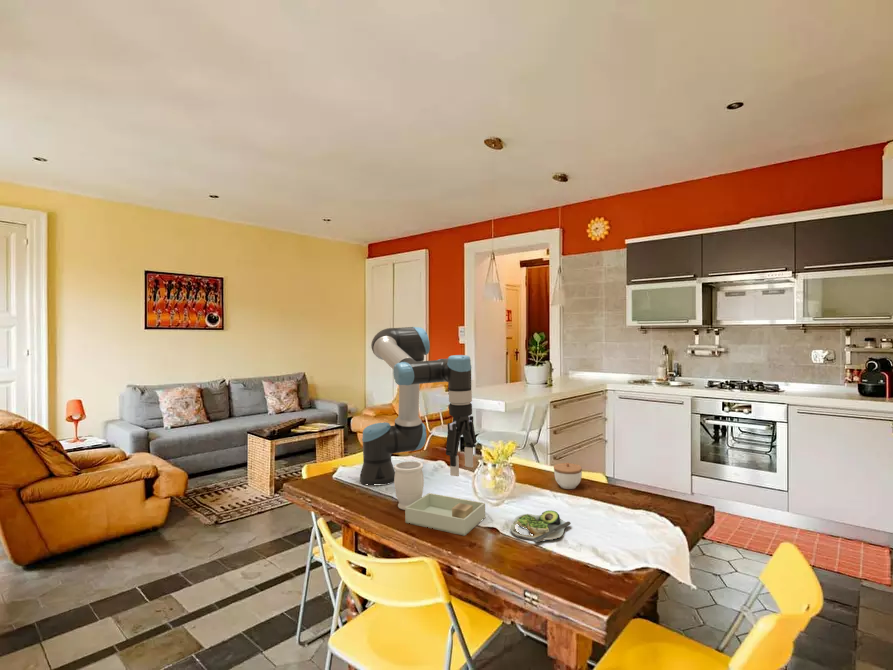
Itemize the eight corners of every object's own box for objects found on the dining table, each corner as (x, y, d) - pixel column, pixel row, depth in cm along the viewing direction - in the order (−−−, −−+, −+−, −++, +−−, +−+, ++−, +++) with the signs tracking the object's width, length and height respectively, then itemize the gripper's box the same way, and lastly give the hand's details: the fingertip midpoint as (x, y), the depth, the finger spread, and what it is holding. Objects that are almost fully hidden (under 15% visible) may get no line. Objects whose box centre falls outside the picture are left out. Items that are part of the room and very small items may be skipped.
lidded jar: (585, 484, 195) (585, 461, 194) (577, 493, 186) (576, 468, 185) (559, 480, 201) (559, 457, 200) (550, 488, 192) (549, 464, 191)
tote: (429, 506, 176) (428, 492, 176) (485, 517, 165) (485, 503, 165) (405, 522, 163) (405, 507, 163) (464, 535, 152) (464, 519, 152)
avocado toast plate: (563, 551, 141) (563, 535, 141) (503, 542, 148) (502, 527, 148) (572, 524, 159) (572, 510, 159) (518, 517, 166) (518, 503, 166)
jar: (426, 500, 182) (425, 460, 181) (422, 512, 172) (420, 469, 171) (398, 500, 183) (396, 460, 182) (392, 511, 173) (391, 469, 172)
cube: (472, 520, 162) (472, 505, 162) (465, 526, 158) (465, 510, 158) (459, 517, 165) (459, 503, 164) (452, 523, 160) (451, 508, 160)
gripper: (465, 396, 171) (467, 460, 172) (432, 408, 152) (435, 479, 153) (485, 398, 167) (486, 463, 168) (454, 409, 148) (456, 483, 149)
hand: (462, 470), depth 160 cm, fingers open, 9 cm apart
